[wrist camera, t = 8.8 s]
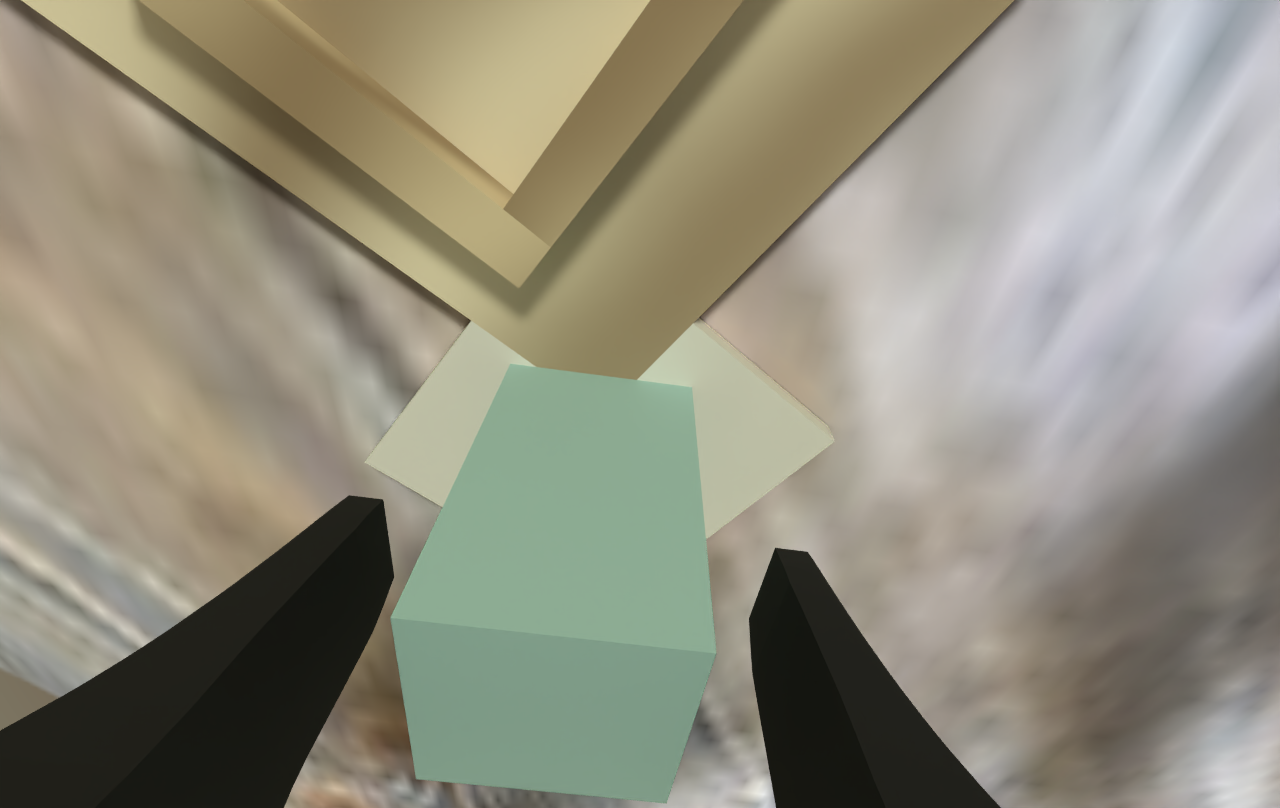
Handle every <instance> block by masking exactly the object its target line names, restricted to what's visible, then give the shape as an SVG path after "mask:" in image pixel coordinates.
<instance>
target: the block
mask: <svg viewBox="0 0 1280 808" xmlns="http://www.w3.org/2000/svg"><path fill="white" fill-rule="evenodd" d="M391 625H392V631H393V637H394V643H395V650H396V656H397V662H398V668H399V675H400V681H401V687H402V693H403V700H404V706H405V712H406V718H407V725H408V731H409V737H410V743H411V750H412V756H413V762H414V768H415V775H416V779H421V780H431V781H441V782H451V783H462V784H472V785H482V786H493V787H503V788H513V789H524V790H534V791H544V792H554V793H565V794H575V795H585V796H596V797H606V798H616V799H627V800H637V801H647V802H657V803H667V800H668V797H669V794H670V791H671V788H672V785H673V782H674V779H675V776H676V773H677V770H678V767H679V764H680V761H681V758H682V755H683V752H684V749H685V746H686V743H687V740H688V737H689V734H690V731H691V728H692V725H693V722H694V719H695V716H696V713H697V710H698V707H699V704H700V701H701V698H702V695H703V692H704V689H705V686H706V683H707V680H708V677H709V674H710V671H711V668H712V665H713V662H714V659H715V656H716V643H715V632H714V621H713V610H712V599H711V589H710V578H709V567H708V556H707V545H706V534H705V523H704V512H703V501H702V491H701V480H700V469H699V458H698V447H697V436H696V425H695V414H694V403H693V392H692V387H686V386H679V385H671V384H663V383H656V382H648V381H640V380H632V379H625V378H617V377H609V376H602V375H594V374H586V373H579V372H571V371H563V370H555V369H548V368H540V367H532V366H525V365H517V364H510V365H509V368H508V370H507V372H506V374H505V376H504V378H503V380H502V382H501V384H500V387H499V389H498V391H497V393H496V395H495V397H494V399H493V401H492V404H491V406H490V408H489V410H488V412H487V414H486V416H485V418H484V421H483V423H482V425H481V427H480V429H479V431H478V433H477V435H476V437H475V440H474V442H473V444H472V446H471V448H470V450H469V452H468V454H467V457H466V459H465V461H464V463H463V465H462V467H461V469H460V471H459V474H458V476H457V478H456V480H455V482H454V484H453V486H452V488H451V490H450V493H449V495H448V497H447V499H446V501H445V503H444V505H443V507H442V510H441V512H440V514H439V516H438V518H437V520H436V522H435V524H434V527H433V529H432V531H431V533H430V535H429V537H428V539H427V541H426V543H425V546H424V548H423V550H422V552H421V554H420V556H419V558H418V560H417V563H416V565H415V567H414V569H413V571H412V573H411V575H410V577H409V580H408V582H407V584H406V586H405V588H404V590H403V592H402V594H401V596H400V599H399V601H398V603H397V605H396V607H395V609H394V611H393V613H392V616H391Z"/></svg>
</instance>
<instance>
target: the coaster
mask: <svg viewBox="0 0 1280 808" xmlns="http://www.w3.org/2000/svg"><path fill="white" fill-rule="evenodd" d="M510 364H517V365H525V366H532V367H536V366H534V365H533V364H531V363H530V362H529V361H527V360H526V359H524V358H523V357H522V356H520V355H519V354H517V353H516V352H515V351H513V350H512V349H510V348H509V347H508V346H506V345H505V344H503V343H502V342H501V341H499V340H498V339H496V338H495V337H494V336H492V335H491V334H489V333H488V332H487V331H485V330H484V329H482V328H481V327H479V326H478V325H477V324H475V323H474V322H472V321H470V322H469V324H468V325H467V326H466V328H465V329H464V330H463V332H462V333H461V334H460V336H459V337H458V338H457V340H456V341H455V342H454V344H453V345H452V346H451V347H450V349H449V350H448V351H447V353H446V354H445V355H444V357H443V358H442V359H441V361H440V362H439V363H438V365H437V366H436V367H435V369H434V370H433V371H432V373H431V374H430V375H429V377H428V378H427V379H426V381H425V382H424V383H423V385H422V386H421V387H420V389H419V390H418V391H417V393H416V394H415V395H414V397H413V398H412V399H411V401H410V402H409V403H408V404H407V406H406V407H405V408H404V410H403V411H402V412H401V414H400V415H399V416H398V418H397V419H396V420H395V422H394V423H393V424H392V426H391V427H390V428H389V430H388V431H387V432H386V434H385V435H384V436H383V438H382V439H381V440H380V442H379V443H378V444H377V446H376V447H375V448H374V450H373V451H372V452H371V454H370V455H369V457H368V458H367V460H366V461H365V463H367V464H368V465H370V466H372V467H373V468H375V469H377V470H379V471H380V472H382V473H384V474H386V475H387V476H389V477H391V478H393V479H394V480H396V481H398V482H400V483H401V484H403V485H405V486H406V487H408V488H410V489H412V490H413V491H415V492H417V493H419V494H420V495H422V496H424V497H426V498H427V499H429V500H431V501H432V502H434V503H436V504H438V505H439V506H441V507H443V505H444V503H445V501H446V499H447V497H448V495H449V493H450V490H451V488H452V486H453V484H454V482H455V480H456V478H457V476H458V474H459V471H460V469H461V467H462V465H463V463H464V461H465V459H466V457H467V454H468V452H469V450H470V448H471V446H472V444H473V442H474V440H475V437H476V435H477V433H478V431H479V429H480V427H481V425H482V423H483V421H484V418H485V416H486V414H487V412H488V410H489V408H490V406H491V404H492V401H493V399H494V397H495V395H496V393H497V391H498V389H499V387H500V384H501V382H502V380H503V378H504V376H505V374H506V372H507V370H508V368H509V365H510ZM637 380H640V381H648V382H656V383H663V384H671V385H679V386H686V387H692V392H693V403H694V414H695V425H696V436H697V447H698V458H699V469H700V480H701V491H702V501H703V512H704V523H705V534H706V539H707V538H709V537H710V536H711V535H713V534H714V533H715V532H717V531H718V530H719V529H720V528H722V527H723V526H724V525H726V524H727V523H728V522H730V521H731V520H732V519H734V518H735V517H736V516H738V515H739V514H740V513H741V512H743V511H744V510H745V509H747V508H748V507H749V506H751V505H752V504H753V503H755V502H756V501H757V500H758V499H760V498H761V497H762V496H764V495H765V494H766V493H768V492H769V491H770V490H772V489H773V488H774V487H776V486H777V485H778V484H779V483H781V482H782V481H783V480H785V479H786V478H787V477H789V476H790V475H791V474H793V473H794V472H795V471H796V470H798V469H799V468H800V467H802V466H803V465H804V464H806V463H807V462H808V461H810V460H811V459H812V458H814V457H815V456H816V455H817V454H819V453H820V452H821V451H823V450H824V449H825V448H827V447H828V446H829V445H831V444H832V443H833V442H835V441H834V438H833V436H832V434H831V432H830V429H829V427H828V426H827V425H826V424H825V423H823V422H822V421H821V420H820V419H819V418H818V417H816V416H815V415H814V414H813V413H812V412H810V411H809V410H808V409H807V408H806V407H804V406H803V405H802V404H801V403H800V402H799V401H797V400H796V399H795V398H794V397H793V396H791V395H790V394H789V393H788V392H787V391H785V390H784V389H783V388H782V387H781V386H780V385H778V384H777V383H776V382H775V381H774V380H772V379H771V378H770V377H769V376H768V375H766V374H765V373H764V372H763V371H762V370H760V369H759V368H758V367H757V366H756V365H755V364H753V363H752V362H751V361H750V360H749V359H747V358H746V357H745V356H744V355H743V354H741V353H740V352H739V351H738V350H737V349H736V348H734V347H733V346H732V345H731V344H730V343H728V342H727V341H726V340H725V339H724V338H722V337H721V336H720V335H719V334H718V333H717V332H715V331H714V330H713V329H712V328H711V327H709V326H708V325H707V324H706V323H705V322H703V321H702V320H701V319H700V318H698V319H697V320H696V321H695V322H694V323H693V324H692V325H691V326H690V327H689V328H688V329H687V330H686V331H685V332H684V333H683V334H682V335H681V336H680V337H679V338H678V339H677V340H676V341H675V342H674V343H673V344H672V345H671V346H670V347H669V348H668V349H667V350H666V351H665V352H664V353H663V354H662V355H661V356H660V357H659V358H658V359H657V360H656V361H655V362H654V363H653V364H652V365H651V366H650V367H649V368H648V369H647V370H646V371H645V372H644V373H643V374H642V375H641V376H640V377H639V378H638V379H637Z"/></svg>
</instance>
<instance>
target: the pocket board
mask: <svg viewBox="0 0 1280 808" xmlns="http://www.w3.org/2000/svg"><path fill="white" fill-rule="evenodd" d="M22 1H23V2H24V3H26V4H27V5H29V6H30V7H31V8H33V9H34V10H36V11H37V12H38V13H40V14H41V15H43V16H44V17H45V18H47V19H48V20H50V21H51V22H52V23H54V24H55V25H57V26H58V27H59V28H61V29H62V30H64V31H65V32H67V33H68V34H69V35H71V36H72V37H74V38H75V39H76V40H78V41H79V42H81V43H82V44H83V45H85V46H86V47H88V48H89V49H90V50H92V51H93V52H95V53H96V54H97V55H99V56H100V57H102V58H103V59H104V60H106V61H107V62H109V63H110V64H111V65H113V66H114V67H116V68H117V69H118V70H120V71H121V72H123V73H124V74H126V75H127V76H128V77H130V78H131V79H133V80H134V81H135V82H137V83H138V84H140V85H141V86H142V87H144V88H145V89H147V90H148V91H149V92H151V93H152V94H154V95H155V96H156V97H158V98H159V99H161V100H162V101H163V102H165V103H166V104H168V105H169V106H170V107H172V108H173V109H175V110H176V111H177V112H179V113H180V114H182V115H183V116H184V117H186V118H187V119H189V120H190V121H192V122H193V123H194V124H196V125H197V126H199V127H200V128H201V129H203V130H204V131H206V132H207V133H208V134H210V135H211V136H213V137H214V138H215V139H217V140H218V141H220V142H221V143H222V144H224V145H225V146H227V147H228V148H229V149H231V150H232V151H234V152H235V153H236V154H238V155H239V156H241V157H242V158H243V159H245V160H246V161H248V162H249V163H251V164H252V165H253V166H255V167H256V168H258V169H259V170H260V171H262V172H263V173H265V174H266V175H267V176H269V177H270V178H272V179H273V180H274V181H276V182H277V183H279V184H280V185H281V186H283V187H284V188H286V189H287V190H288V191H290V192H291V193H293V194H294V195H295V196H297V197H298V198H300V199H301V200H302V201H304V202H305V203H307V204H308V205H310V206H311V207H312V208H314V209H315V210H317V211H318V212H319V213H321V214H322V215H324V216H325V217H326V218H328V219H329V220H331V221H332V222H333V223H335V224H336V225H338V226H339V227H340V228H342V229H343V230H345V231H346V232H347V233H349V234H350V235H352V236H353V237H354V238H356V239H357V240H359V241H360V242H361V243H363V244H364V245H366V246H367V247H369V248H370V249H371V250H373V251H374V252H376V253H377V254H378V255H380V256H381V257H383V258H384V259H385V260H387V261H388V262H390V263H391V264H392V265H394V266H395V267H397V268H398V269H399V270H401V271H402V272H404V273H405V274H406V275H408V276H409V277H411V278H412V279H413V280H415V281H416V282H418V283H419V284H420V285H422V286H423V287H425V288H426V289H428V290H429V291H430V292H432V293H433V294H435V295H436V296H437V297H439V298H440V299H442V300H443V301H444V302H446V303H447V304H449V305H450V306H451V307H453V308H454V309H456V310H457V311H458V312H460V313H461V314H463V315H464V316H465V317H467V318H468V319H470V320H471V321H472V322H474V323H475V324H477V325H478V326H479V327H481V328H482V329H484V330H485V331H487V332H488V333H489V334H491V335H492V336H494V337H495V338H496V339H498V340H499V341H501V342H502V343H503V344H505V345H506V346H508V347H509V348H510V349H512V350H513V351H515V352H516V353H517V354H519V355H520V356H522V357H523V358H524V359H526V360H527V361H529V362H530V363H531V364H533V365H534V366H536V367H540V368H548V369H555V370H563V371H571V372H579V373H586V374H594V375H602V376H609V377H617V378H625V379H632V380H637V379H638V378H639V377H640V376H641V375H642V374H643V373H644V372H645V371H646V370H647V369H648V368H649V367H650V366H651V365H652V364H653V363H654V362H655V361H656V360H657V359H658V358H659V357H660V356H661V355H662V354H663V353H664V352H665V351H666V350H667V349H668V348H669V347H670V346H671V345H672V344H673V343H674V342H675V341H676V340H677V339H678V338H679V337H680V336H681V335H682V334H683V333H684V332H685V331H686V330H687V329H688V328H689V327H690V326H691V325H692V324H693V323H694V322H695V321H696V320H697V319H698V318H699V317H700V316H701V315H702V314H703V313H704V312H705V311H706V310H707V309H708V308H709V307H710V306H711V305H712V304H713V303H714V302H715V301H716V300H717V299H718V298H719V297H720V296H721V295H722V294H723V293H724V292H725V291H726V290H727V289H728V288H729V287H730V286H731V285H732V284H733V283H734V282H735V281H736V280H737V279H738V278H739V277H740V276H741V275H742V274H743V273H744V272H745V271H746V270H747V269H748V268H749V267H750V266H751V265H752V264H753V263H754V262H755V261H756V260H757V259H758V258H759V257H760V256H761V255H762V254H763V253H764V252H765V251H766V250H767V249H768V247H769V246H770V245H771V244H772V243H773V242H774V241H775V240H776V239H777V238H778V237H779V236H780V235H781V234H782V233H783V232H784V231H785V230H786V229H787V228H788V227H789V226H790V225H791V224H792V223H793V222H794V221H795V220H796V219H797V218H798V217H799V216H800V215H801V214H802V213H803V212H804V211H805V210H806V209H807V208H808V207H809V206H810V205H811V204H812V203H813V202H814V201H815V200H816V199H817V198H818V197H819V196H820V195H821V194H822V193H823V192H824V191H825V190H826V189H827V188H828V187H829V186H830V185H831V184H832V183H833V182H834V181H835V180H836V179H837V178H838V177H839V176H840V175H841V174H842V173H843V172H844V171H845V170H846V169H847V168H848V167H849V166H850V165H851V164H852V163H853V162H854V161H855V160H856V159H857V158H858V157H859V156H860V155H861V154H862V153H863V152H864V151H865V150H866V149H867V148H868V147H869V146H870V145H871V144H872V143H873V142H874V141H875V140H876V139H877V138H878V137H879V136H880V135H881V134H882V133H883V132H884V131H885V130H886V129H887V128H888V127H889V126H890V125H891V124H892V123H893V122H894V121H895V120H896V119H897V118H898V117H899V116H900V115H901V114H902V113H903V112H904V111H905V110H906V109H907V108H908V107H909V106H910V105H911V104H912V103H913V102H914V101H915V100H916V99H917V98H918V97H919V96H920V95H921V94H922V93H923V92H924V91H925V90H926V89H927V88H928V87H929V86H930V85H931V84H932V83H933V82H934V81H935V80H936V79H937V78H938V76H939V75H940V74H941V73H942V72H943V71H944V70H945V69H946V68H947V67H948V66H949V65H950V64H951V63H952V62H953V61H954V60H955V59H956V58H957V57H958V56H959V55H960V54H961V53H962V52H963V51H964V50H965V49H966V48H967V47H968V46H969V45H970V44H971V43H972V42H973V41H974V40H975V39H976V38H977V37H978V36H979V35H980V34H981V33H982V32H983V31H984V30H985V29H986V28H987V27H988V26H989V25H990V24H991V23H992V22H993V21H994V20H995V19H996V18H997V17H998V16H999V15H1000V14H1001V13H1002V12H1003V11H1004V10H1005V9H1006V8H1007V7H1008V6H1009V5H1010V4H1011V3H1012V2H1013V1H1014V0H22Z"/></svg>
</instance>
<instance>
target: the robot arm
mask: <svg viewBox="0 0 1280 808" xmlns="http://www.w3.org/2000/svg"><path fill="white" fill-rule="evenodd" d="M393 578H394V572H393V565H392V558H391V551H390V544H389V537H388V530H387V523H386V516H385V509H384V502H383V500H382V499H374V498H366V497H358V496H350V495H349V496H348V497H346V498H345V499H344V500H342V501H341V502H340V503H338V504H337V505H336V506H334V507H333V508H332V509H330V510H329V511H328V512H327V513H325V514H324V515H323V516H322V517H320V518H319V519H318V520H316V521H315V522H314V523H313V524H311V525H310V526H309V527H308V528H306V529H305V530H304V531H302V532H301V533H300V534H299V535H297V536H296V537H295V538H294V539H292V540H291V541H290V542H288V543H287V544H286V545H285V546H283V547H282V548H281V549H279V550H278V551H277V552H276V553H274V554H273V555H272V556H270V557H269V558H268V559H266V560H265V561H264V562H262V563H261V564H260V565H258V566H257V567H256V568H254V569H253V570H252V571H250V572H249V573H248V574H246V575H245V576H244V577H242V578H241V579H240V580H239V581H237V582H236V583H235V584H233V585H232V586H230V587H229V588H228V589H226V590H225V591H224V592H222V593H221V594H219V595H218V596H217V597H215V598H214V599H212V600H211V601H209V602H208V603H206V604H205V605H204V606H202V607H201V608H199V609H198V610H196V611H195V612H194V613H192V614H191V615H189V616H188V617H186V618H185V619H184V620H182V621H181V622H179V623H178V624H176V625H175V626H174V627H172V628H171V629H169V630H168V631H166V632H165V633H163V634H162V635H160V636H159V637H157V638H156V639H154V640H153V641H151V642H150V643H148V644H147V645H145V646H144V647H142V648H140V649H139V650H137V651H136V652H134V653H133V654H131V655H129V656H128V657H126V658H125V659H123V660H122V661H120V662H118V663H117V664H115V665H113V666H112V667H110V668H109V669H107V670H105V671H104V672H102V673H100V674H99V675H97V676H95V677H94V678H92V679H91V680H89V681H87V682H86V683H84V684H82V685H81V686H79V687H77V688H76V689H74V690H72V691H70V692H69V693H67V694H65V695H64V696H62V697H60V698H58V699H56V700H55V701H53V702H51V703H49V704H47V705H46V706H44V707H42V708H40V709H39V710H37V711H35V712H33V713H31V714H29V715H28V716H26V717H24V718H23V719H20V720H19V721H17V722H15V723H13V724H11V725H10V726H8V727H6V728H4V729H2V730H1V731H0V808H284V806H285V804H286V801H287V799H288V797H289V794H290V792H291V789H292V787H293V785H294V783H295V781H296V779H297V777H298V775H299V773H300V771H301V768H302V766H303V764H304V762H305V760H306V758H307V756H308V754H309V752H310V750H311V749H312V747H313V745H314V743H315V741H316V739H317V737H318V735H319V733H320V732H321V730H322V728H323V726H324V724H325V722H326V720H327V718H328V716H329V715H330V713H331V711H332V709H333V707H334V705H335V703H336V701H337V699H338V698H339V696H340V694H341V692H342V690H343V688H344V686H345V684H346V682H347V681H348V679H349V677H350V675H351V673H352V671H353V669H354V667H355V665H356V663H357V661H358V660H359V658H360V656H361V654H362V652H363V650H364V648H365V646H366V644H367V642H368V640H369V638H370V636H371V634H372V632H373V630H374V628H375V625H376V623H377V620H378V618H379V615H380V613H381V610H382V608H383V605H384V603H385V600H386V597H387V595H388V592H389V589H390V587H391V584H392V581H393ZM749 626H750V645H751V660H752V673H753V679H754V685H755V691H756V697H757V703H758V709H759V714H760V720H761V726H762V731H763V737H764V742H765V748H766V753H767V759H768V764H769V770H770V776H771V781H772V787H773V792H774V798H775V803H776V808H1000V806H999V805H998V804H997V803H996V802H995V801H994V800H993V799H992V798H991V797H990V796H989V795H988V793H987V792H986V791H985V790H984V789H983V788H982V787H981V786H980V785H979V783H978V782H977V781H976V780H975V779H974V778H973V776H972V775H971V774H970V773H969V772H968V771H967V770H966V768H965V767H964V766H963V765H962V764H961V763H960V761H959V760H958V759H957V758H956V757H955V756H954V755H953V753H952V752H951V751H950V750H949V749H948V748H947V747H946V745H945V744H944V743H943V742H942V740H941V739H940V738H939V737H938V736H937V734H936V733H935V732H934V731H933V729H932V728H931V727H930V726H929V724H928V723H927V722H926V721H925V719H924V718H923V717H922V716H921V714H920V713H919V712H918V710H917V709H916V708H915V706H914V705H913V704H912V703H911V701H910V700H909V699H908V697H907V696H906V695H905V693H904V692H903V691H902V690H901V688H900V687H899V685H898V684H897V683H896V681H895V680H894V679H893V677H892V676H891V675H890V673H889V672H888V671H887V669H886V668H885V666H884V665H883V664H882V662H881V661H880V659H879V658H878V656H877V655H876V654H875V652H874V651H873V649H872V648H871V646H870V645H869V644H868V642H867V641H866V639H865V638H864V637H863V635H862V634H861V632H860V631H859V629H858V628H857V626H856V625H855V623H854V622H853V620H852V619H851V617H850V616H849V614H848V613H847V611H846V610H845V608H844V607H843V605H842V604H841V602H840V601H839V599H838V598H837V596H836V595H835V593H834V591H833V590H832V588H831V587H830V585H829V584H828V582H827V581H826V579H825V577H824V576H823V574H822V573H821V571H820V570H819V568H818V567H817V565H816V564H815V562H814V560H813V559H812V557H811V556H810V555H809V553H808V552H804V551H796V550H788V549H780V548H775V550H774V553H773V555H772V558H771V561H770V563H769V566H768V569H767V572H766V574H765V577H764V580H763V582H762V585H761V588H760V590H759V593H758V596H757V598H756V601H755V604H754V607H753V609H752V612H751V615H750V617H749Z"/></svg>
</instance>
